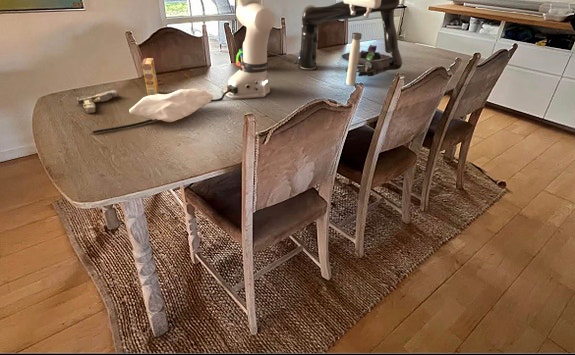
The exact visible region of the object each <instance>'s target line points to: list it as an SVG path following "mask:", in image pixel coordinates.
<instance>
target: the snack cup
mask: <svg viewBox="0 0 575 355" xmlns="http://www.w3.org/2000/svg"><path fill="white" fill-rule="evenodd" d="M237 61H239V62H240V63H241V62H242V61H243V47H242V48H239V49H238V52H237V53H236V58H235V63H236V62H237Z"/></svg>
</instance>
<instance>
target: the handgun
mask: <svg viewBox="0 0 575 355" xmlns="http://www.w3.org/2000/svg"><path fill="white" fill-rule="evenodd" d="M119 96H120V94H119V92H118V91H117V90H116V89H112V90H108V91H105V92H104V91H103V92H101V93H96V94H94V95H86V94H85V95H84V94H83V95H81V96H80V97H77V98H76V101H77V104H78V105H82V108H83V109H84V110H85V113H87V114H91V113H95V112H96V104H95V103H98V102H106V101H109V100H111V99H113V98H117V97H119Z"/></svg>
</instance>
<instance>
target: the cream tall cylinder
mask: <svg viewBox="0 0 575 355" xmlns="http://www.w3.org/2000/svg"><path fill="white" fill-rule="evenodd" d="M360 40H361V39H360ZM360 40H354V39H352V41H351V43H350V48H349V53H350V55H349V61H348V65H347V68H348V71H347V72H346V81H345V85H347V86H351V87H352V86H355V85H356V80H357V73H358V72H357V71H358V69H357V66H358V65H359V63H358V59H359V52H361V41H360Z"/></svg>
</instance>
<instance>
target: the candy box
mask: <svg viewBox="0 0 575 355" xmlns="http://www.w3.org/2000/svg"><path fill="white" fill-rule="evenodd" d="M141 66H142V73H143V78H144V82H145V87H146V92H147V96H150V95H156V94H159V91H160V90H159V84H158V79H157V73H156V66H155V62H154V58H153V57H151V58H150V57H149V58H146V57H145V58H143V60H142V63H141Z"/></svg>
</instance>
